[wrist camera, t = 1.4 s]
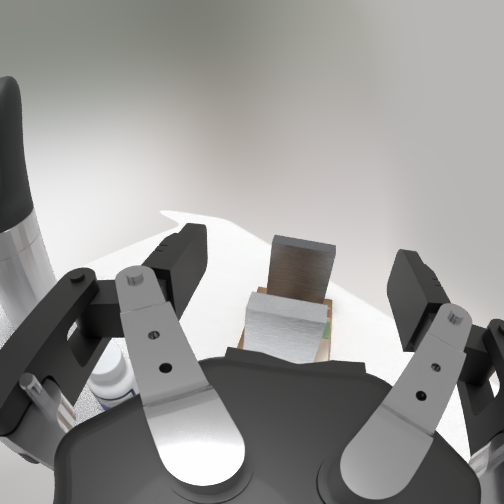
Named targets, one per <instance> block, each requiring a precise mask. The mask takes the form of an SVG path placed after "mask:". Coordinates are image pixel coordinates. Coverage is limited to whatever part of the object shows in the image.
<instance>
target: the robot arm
mask: <svg viewBox="0 0 504 504" xmlns="http://www.w3.org/2000/svg"><path fill="white" fill-rule="evenodd" d="M207 260H208V256H207V229H206V226H205V225H204V224H194V223H187V224H186V225H185V226H184V227H183V228H182V230H181V231H180V232H179V233H173V234H171V235H170V236H168V237H166V238H165V239H164V240H163V241H162V242H161V243H160V244H159V246H157V248H156V249H155V251H153V252H152V253H151V254H150V256H149V257H148V258H147V259H146V260H145V261H144V262H143V264H142V265H141V266H131V267H128V268H125V269H123V270H122V271H120V272H119V273H118V274H117V276H116V278H115V280H97V278H96V275H95V272H94V271H93V270H92V269H90V268H78V269H74V270H72V271H70V272H68V273H67V274H65V275H64V276H63V277H62V278H61V279H60V280H59V281H58V282H57V281H56V278H55V276H54V273H53V270H52V267H51V264H50V261H49V258H48V255H47V252H46V249H45V245H44V242H43V239H42V235H41V232H40V229H39V225H38V221H37V217H36V214H35V210H34V206H33V201H32V197H31V192H30V187H29V181H28V176H27V170H26V164H25V156H24V146H23V130H22V105H21V96H20V90H19V86H18V84H17V82H16V80H15V79H14V78H13V77H10V76H6V77H2V78H0V303H1V305H2V307H3V309H4V311H5V313H6V315H7V317H8V318H9V320H10V322H11V324H12V326H13V328H14V329H15V332H14V333H13V334H12V336H11V337H10V338H9V339H8V341H7V342H6V343H5V344H4V346H3V347H2V348H1V350H0V440H1V441H2V442H3V443H4V444H5V445H6V446H7V447H9V448H10V449H11V450H13V451H14V452H16V453H18V454H19V455H20V456H22V457H23V458H24V459H25V460H27V461H28V462H31V463H34V464H38V463H41V464H43V465H45V466H47V467H48V468H50V469H52V470H53V471H54V476H55V493H54V501H53V504H504V321H503V320H500V319H493V320H491V321H490V323H489V325H488V326H487V328H482V327H479V326H476V325H473V324H472V319H471V317H470V315H469V314H468V312H467V311H466V310H464V309H463V308H462V307H460V306H458V305H455V304H451V302H450V300H449V298H448V297H447V295H446V293H445V291H444V289H443V287H441V284H440V282H439V281H438V278H437V277H436V275H435V273H434V271H432V270H431V269H430V268H429V267H428V266H427V265H426V264H424V263H423V262H422V260H421V258H420V257H419V255H418V253H417V252H416V251H410V250H403V249H400V250H399V251H398V252H397V255H396V258H395V261H394V264H393V267H392V271H391V274H390V277H389V280H388V284H387V296H388V299H389V302H390V305H391V309H392V312H393V315H394V319H395V322H396V326H397V329H398V333H399V337H400V340H401V344H402V348H403V352H415V354H414V355H413V357H412V358H411V360H410V362H409V363H408V365H407V366H406V368H405V370H404V371H403V373H402V374H401V376H400V377H399V379H398V380H397V382H396V383H395V385H394V386H393V387H392V386H391V385H390V384H389V383H387V382H386V381H384V380H382V379H380V378H378V377H376V376H374V375H371V374H368V373H366V369H365V363H363V362H348V361H335V360H331V361H322V362H313V363H303V364H296V363H292V362H289V361H286V360H283V359H280V358H277V357H274V356H271V355H268V354H266V353H263V352H257V351H250V350H244V349H238V348H232V347H227V351H226V354H225V357H214V358H208V359H203V360H200V361H197V359H196V357H195V355H194V353H193V351H192V349H191V347H190V345H189V343H188V341H187V338H186V336H185V334H184V332H183V330H182V328H181V325H180V323H179V320H180V318H181V316H182V314H183V312H184V310H185V309H186V307H187V305H188V303H189V301H190V299H191V297H192V295H193V293H194V292H195V290H196V288H197V286H198V284H199V282H200V280H201V279H202V277H203V275H204V273H205V271H206V267H207ZM74 322H76V324H77V326H78V327H77V328H76V329H75V331H74V332H73V334H72V335H71V336H70V338H69V339H68V341H67V334H68V331H69V329H70V327H71V326H72V325H73V323H74ZM124 337H125V340H126V344H127V349H128V353H129V357H130V361H131V364H132V368H133V372H134V376H135V379H136V383H137V386H138V389H139V393H138V394H136V395H135V396H133V397H131V398H129V399H127V400H125V401H123V402H121V403H120V404H118V405H116V406H114V407H112V408H110V409H108V410H106V411H104V412H102V413H100V414H98V415H96V416H94V417H92V418H90V419H88V420H86V421H84V422H82V423H80V424H78V425H76V426H75V427H74V424H75V421H76V413H75V410H74V408H73V407H74V405H75V403H76V401H77V399H78V397H79V395H80V393H81V392H82V390H83V388H84V386H85V384H86V382H87V380H88V379H89V377H90V375H91V373H92V371H93V370H94V368H95V366H96V364H97V363H98V361H99V359H100V357H101V356H102V354H103V352H104V350H105V349H106V347H107V345H108V344H109V342H110V340H111V339H112V338H124ZM495 370H496V373H497V376H498V379H499V382H500V388H499V392H498V394H497V395H496V397H495V398H494V395H493V391H492V388H491V385H490V382H489V378H490V377H491V376H492V374H493V373H494V372H495ZM456 383H457V387H458V391H459V396H460V400H461V404H462V409H463V414H464V419H465V424H466V429H467V435H468V441H469V448H470V455H471V458H470V460H469V463H467V462H466V461H465V460H464V459H463V458H462V457H461V456H460V455H459V454H458V453H457V452H456V451H455V450H454V449H453V448H452V447H451V446H450V445H449V444H448V442H447V441H446V440H445V439H444V438H443V437H442V436H441V435H440V434H439V433H438V432H437V431H436V430H435V429H436V427H437V425H438V423H439V421H440V419H441V417H442V415H443V413H444V411H445V408H446V406H447V404H448V402H449V399H450V397H451V395H452V392H453V390H454V388H455V385H456Z"/></svg>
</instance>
